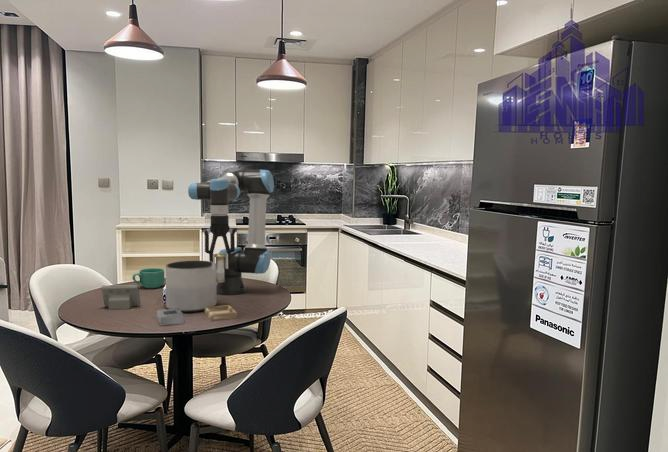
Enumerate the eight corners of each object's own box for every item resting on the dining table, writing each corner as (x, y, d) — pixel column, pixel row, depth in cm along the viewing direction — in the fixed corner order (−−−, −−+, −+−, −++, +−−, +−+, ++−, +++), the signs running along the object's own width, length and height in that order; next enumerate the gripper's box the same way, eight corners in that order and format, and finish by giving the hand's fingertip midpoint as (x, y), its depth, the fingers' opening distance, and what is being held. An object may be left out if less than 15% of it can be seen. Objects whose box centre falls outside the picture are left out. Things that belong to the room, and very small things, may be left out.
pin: (213, 280, 211) (212, 253, 210) (224, 280, 213) (224, 253, 212) (215, 283, 207) (215, 255, 206) (227, 282, 209) (227, 254, 208)
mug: (161, 283, 273) (160, 267, 272) (167, 288, 263) (167, 270, 262) (129, 287, 263) (129, 270, 263) (135, 291, 253) (134, 273, 252)
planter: (217, 300, 238) (216, 259, 236) (216, 312, 216) (215, 268, 214) (169, 302, 233) (168, 260, 231) (162, 314, 211) (161, 269, 209)
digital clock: (142, 305, 226) (142, 283, 225) (133, 310, 217) (133, 287, 216) (108, 304, 227) (108, 282, 226) (98, 309, 218) (97, 286, 217)
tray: (204, 312, 215) (204, 307, 215) (229, 309, 220) (229, 304, 220) (211, 320, 203) (211, 315, 203) (237, 317, 208) (237, 312, 208)
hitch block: (157, 318, 206) (157, 310, 205) (179, 315, 210) (179, 307, 209) (160, 326, 195) (160, 317, 195) (183, 323, 199) (183, 315, 199)
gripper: (199, 216, 200) (200, 271, 202) (242, 215, 208) (242, 268, 210) (196, 214, 207) (197, 268, 209) (237, 214, 215) (238, 265, 217)
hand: (220, 268), depth 210 cm, fingers closed on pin, 5 cm apart
